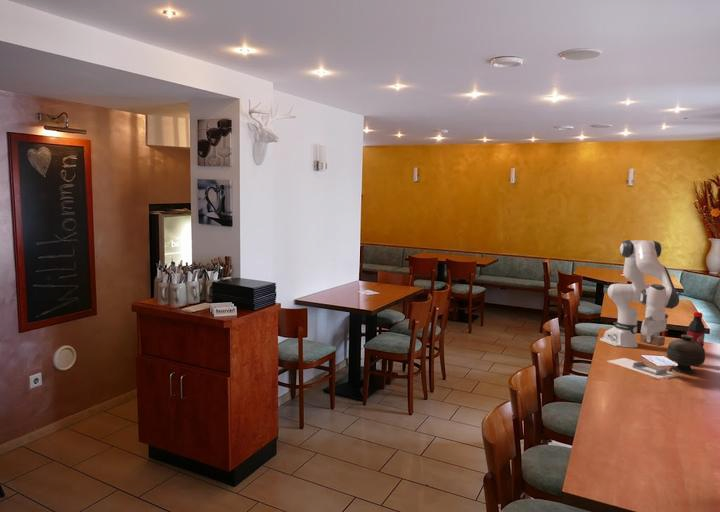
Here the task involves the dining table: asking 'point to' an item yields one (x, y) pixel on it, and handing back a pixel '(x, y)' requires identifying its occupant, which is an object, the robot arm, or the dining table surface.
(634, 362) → the wall panel
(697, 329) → the cola bottle
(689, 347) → the pot
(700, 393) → the dining table surface
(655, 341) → the frame
